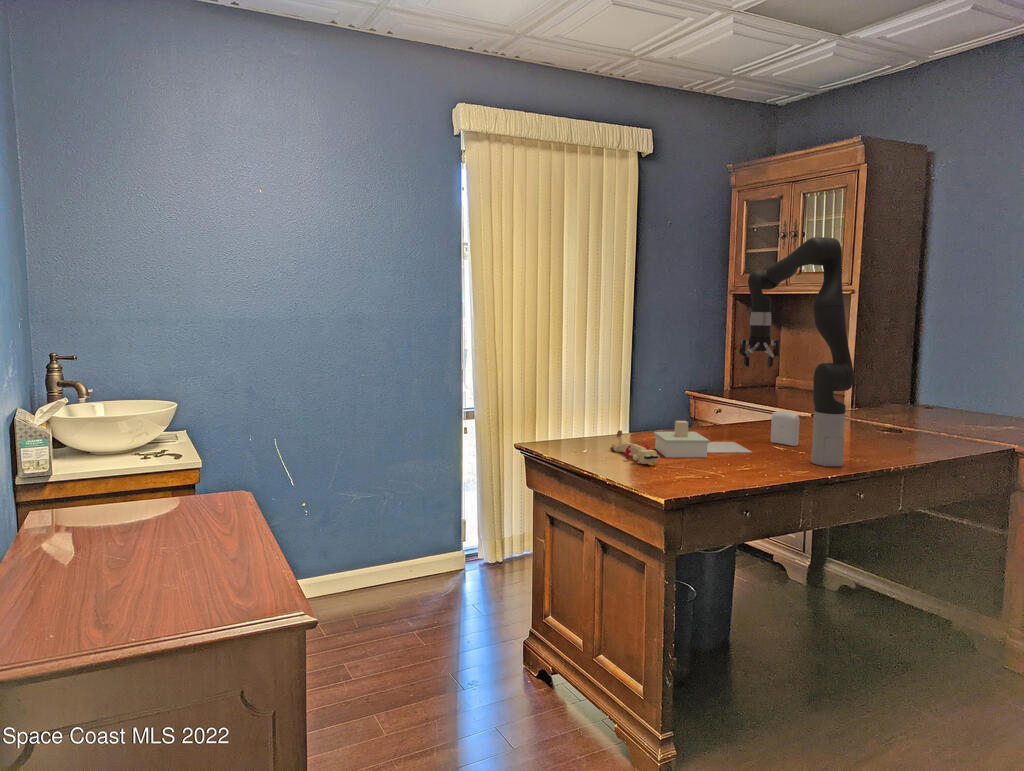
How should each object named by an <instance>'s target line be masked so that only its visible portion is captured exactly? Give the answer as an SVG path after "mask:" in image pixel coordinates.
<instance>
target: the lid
mask: <svg viewBox="0 0 1024 771" xmlns="http://www.w3.org/2000/svg"><path fill="white" fill-rule="evenodd" d="M653 435H654V436H655V437H656V436H657V437H658V438H659V439H661V440H662V441H663V442H665V443H710V442H711V440H710V439H708V438H707V437H705V436H703V435H701V434H700V433H698V432H696V431H689V421H687V420H674V431H653Z"/></svg>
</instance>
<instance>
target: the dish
mask: <svg viewBox="0 0 1024 771" xmlns="http://www.w3.org/2000/svg"><path fill="white" fill-rule="evenodd" d="M707 444H708V443H665V442H663V441H662V440H661V439H659V438H658V437H657V436H655V445H654V446H655V451H658V453H660V454H661V455H662V456H663V457H664V458H668V459H669V458H675V459H677V458H708V453H707Z"/></svg>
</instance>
